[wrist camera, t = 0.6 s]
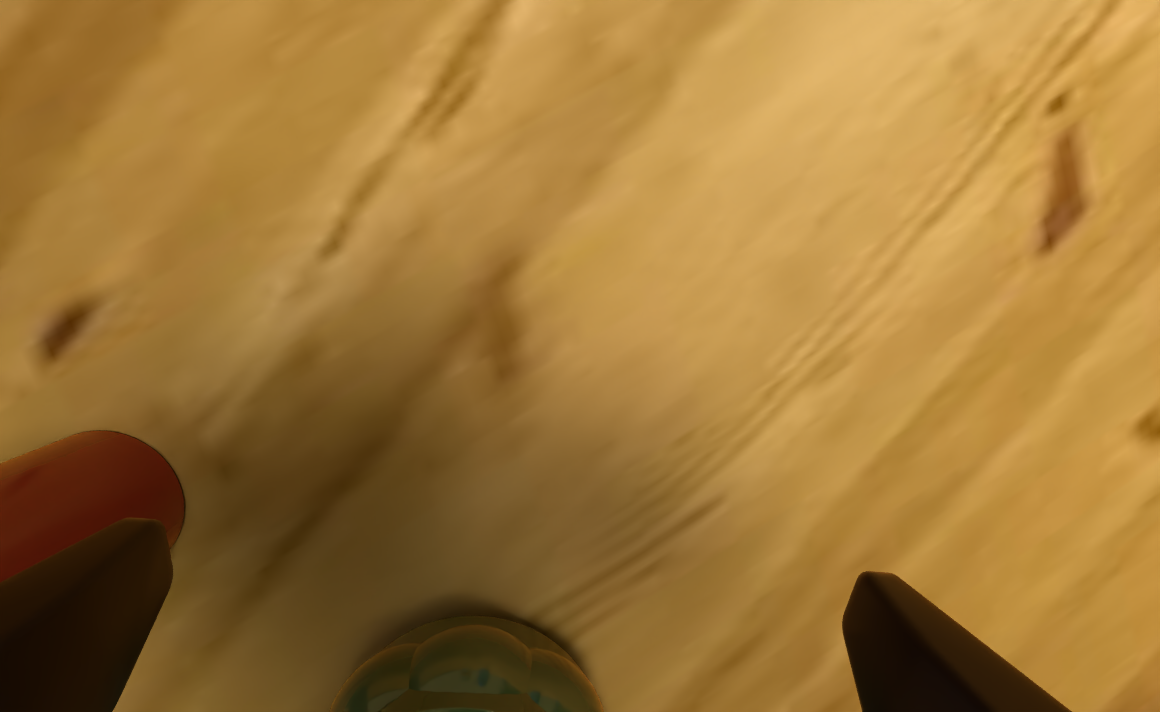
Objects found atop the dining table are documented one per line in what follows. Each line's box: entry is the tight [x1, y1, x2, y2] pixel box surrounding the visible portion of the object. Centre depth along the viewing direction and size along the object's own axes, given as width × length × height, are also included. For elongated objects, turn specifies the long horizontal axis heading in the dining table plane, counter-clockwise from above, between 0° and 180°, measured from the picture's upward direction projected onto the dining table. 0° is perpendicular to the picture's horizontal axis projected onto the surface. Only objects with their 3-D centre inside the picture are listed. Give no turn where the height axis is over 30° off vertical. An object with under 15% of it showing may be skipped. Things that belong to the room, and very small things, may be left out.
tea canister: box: [0, 431, 184, 582], centre depth 20 cm, size 6×6×9 cm
